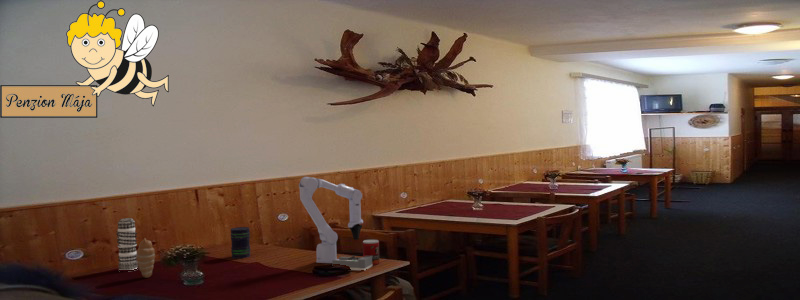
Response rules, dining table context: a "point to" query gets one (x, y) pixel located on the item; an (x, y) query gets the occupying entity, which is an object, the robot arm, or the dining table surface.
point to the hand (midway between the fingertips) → (356, 239)
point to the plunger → (353, 258)
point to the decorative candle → (127, 244)
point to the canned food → (371, 250)
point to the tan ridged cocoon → (146, 257)
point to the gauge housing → (355, 262)
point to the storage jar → (240, 242)
